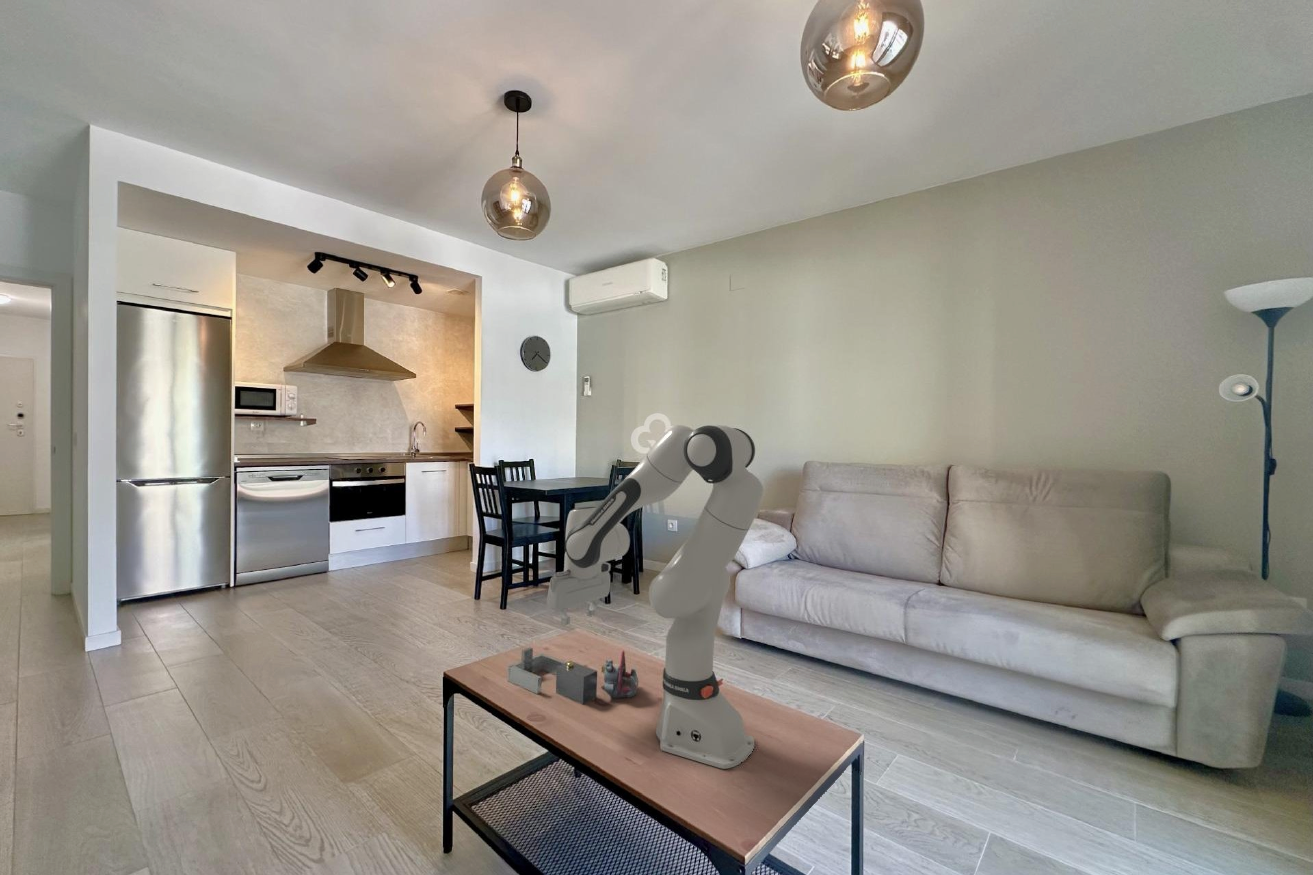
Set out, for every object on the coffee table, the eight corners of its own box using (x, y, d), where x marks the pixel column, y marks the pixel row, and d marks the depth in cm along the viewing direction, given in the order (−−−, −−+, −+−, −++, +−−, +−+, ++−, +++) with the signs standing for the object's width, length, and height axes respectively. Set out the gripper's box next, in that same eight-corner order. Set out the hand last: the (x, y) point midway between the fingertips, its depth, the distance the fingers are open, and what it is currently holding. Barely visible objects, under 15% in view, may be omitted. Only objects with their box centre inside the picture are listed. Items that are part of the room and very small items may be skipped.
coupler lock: (596, 697, 137) (597, 667, 137) (582, 704, 133) (583, 673, 133) (569, 686, 143) (570, 657, 143) (555, 693, 139) (556, 663, 139)
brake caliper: (645, 693, 135) (618, 654, 136) (610, 718, 135) (584, 679, 136) (648, 675, 146) (623, 639, 147) (616, 698, 146) (591, 662, 147)
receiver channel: (571, 678, 148) (572, 653, 148) (537, 693, 138) (538, 667, 138) (541, 666, 155) (542, 642, 156) (507, 680, 146) (508, 654, 146)
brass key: (627, 671, 154) (627, 666, 154) (624, 675, 151) (624, 670, 151) (603, 668, 156) (604, 663, 156) (600, 673, 153) (600, 667, 153)
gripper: (560, 576, 129) (557, 632, 129) (614, 563, 145) (612, 613, 145) (542, 571, 133) (540, 626, 132) (598, 560, 149) (596, 609, 149)
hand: (578, 619), depth 139 cm, fingers open, 8 cm apart
